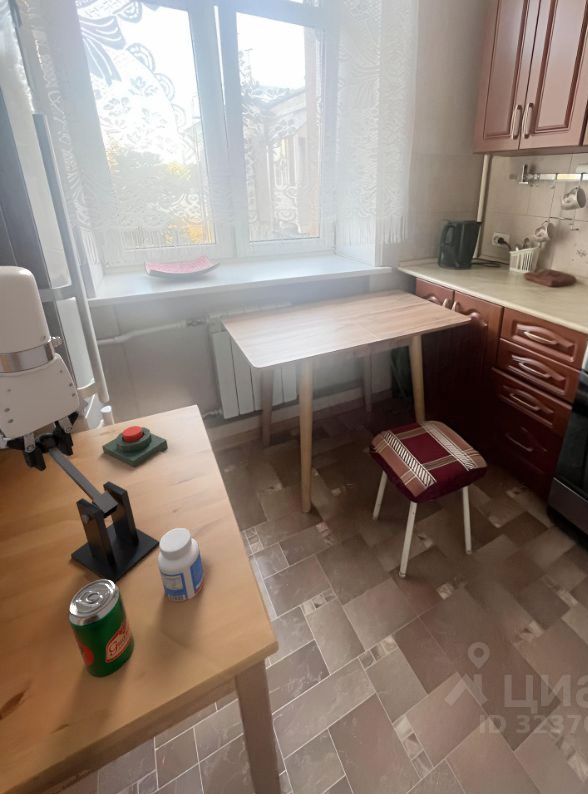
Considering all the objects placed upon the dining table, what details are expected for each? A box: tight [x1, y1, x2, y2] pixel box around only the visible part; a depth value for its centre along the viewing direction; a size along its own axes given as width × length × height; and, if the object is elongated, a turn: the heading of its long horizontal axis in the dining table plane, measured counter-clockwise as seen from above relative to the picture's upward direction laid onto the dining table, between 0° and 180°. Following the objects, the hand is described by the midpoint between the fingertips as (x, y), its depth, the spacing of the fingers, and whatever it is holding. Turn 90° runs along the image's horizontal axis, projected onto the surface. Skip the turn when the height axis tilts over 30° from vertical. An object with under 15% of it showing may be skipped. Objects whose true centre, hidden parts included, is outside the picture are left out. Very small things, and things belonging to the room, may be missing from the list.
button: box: [122, 425, 143, 442], centre depth 84 cm, size 4×4×2 cm
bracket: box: [70, 480, 160, 584], centre depth 61 cm, size 10×8×12 cm
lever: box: [34, 432, 118, 520], centre depth 60 cm, size 17×3×3 cm
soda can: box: [67, 578, 135, 679], centre depth 47 cm, size 5×5×12 cm
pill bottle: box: [157, 527, 205, 603], centre depth 56 cm, size 6×5×10 cm
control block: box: [101, 426, 169, 468], centre depth 85 cm, size 10×8×4 cm
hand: (52, 459), depth 62 cm, fingers closed on lever, 3 cm apart
